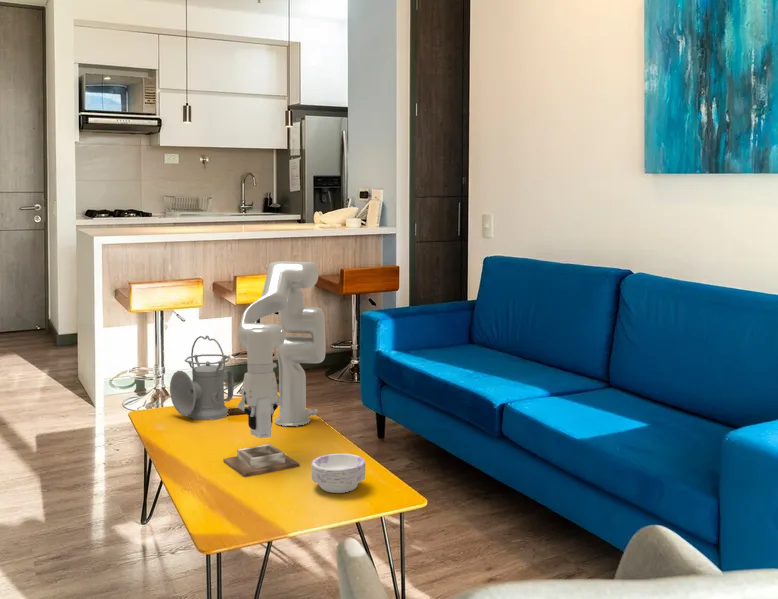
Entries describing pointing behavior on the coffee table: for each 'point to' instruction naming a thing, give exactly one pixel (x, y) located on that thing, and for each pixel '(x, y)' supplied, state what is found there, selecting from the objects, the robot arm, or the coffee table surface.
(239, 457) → the socket board
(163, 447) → the coffee table surface
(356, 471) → the paper bowls
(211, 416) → the lantern
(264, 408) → the skincare box
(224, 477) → the coffee table surface
